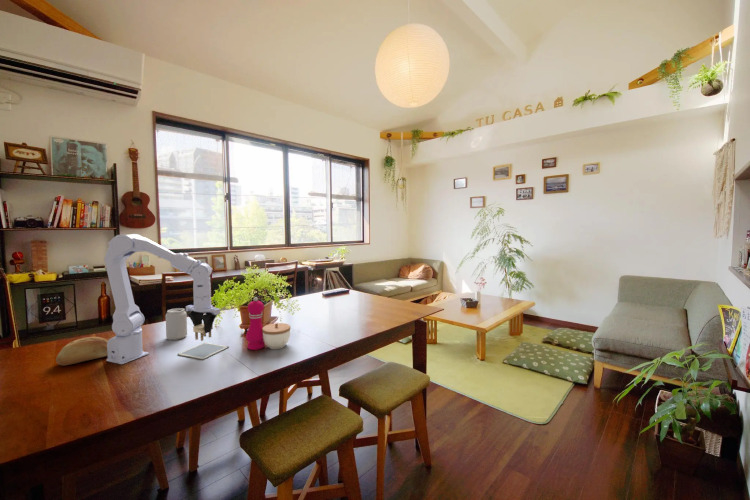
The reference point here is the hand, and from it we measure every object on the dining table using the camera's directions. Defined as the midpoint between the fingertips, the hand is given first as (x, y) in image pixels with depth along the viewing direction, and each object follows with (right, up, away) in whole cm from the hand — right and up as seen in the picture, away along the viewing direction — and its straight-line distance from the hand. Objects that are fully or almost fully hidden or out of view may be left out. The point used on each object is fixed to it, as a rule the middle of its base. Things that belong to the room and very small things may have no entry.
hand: (203, 331), depth 119 cm
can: (-19, -7, +14) cm, 24 cm away
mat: (0, -8, +1) cm, 8 cm away
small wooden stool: (0, -3, 0) cm, 3 cm away
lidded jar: (+26, -8, +7) cm, 28 cm away
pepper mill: (+18, -8, +6) cm, 20 cm away
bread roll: (-36, -8, -9) cm, 38 cm away
